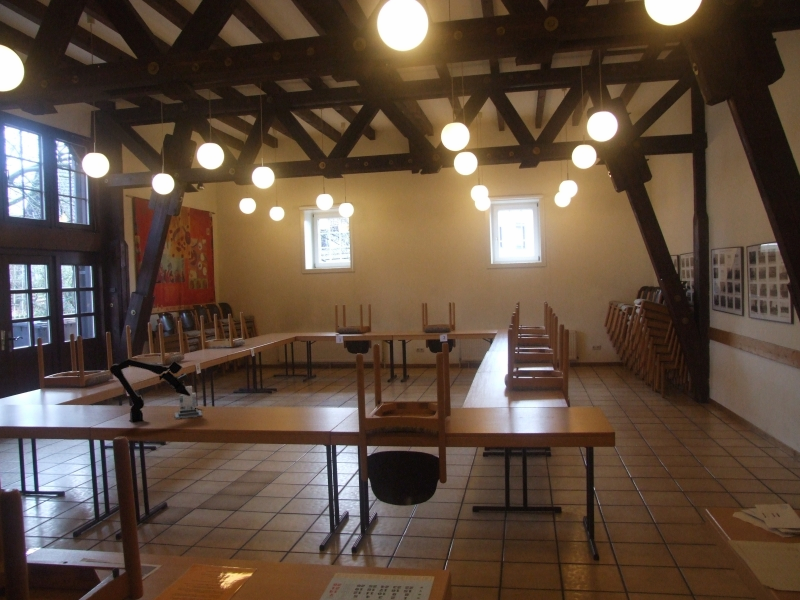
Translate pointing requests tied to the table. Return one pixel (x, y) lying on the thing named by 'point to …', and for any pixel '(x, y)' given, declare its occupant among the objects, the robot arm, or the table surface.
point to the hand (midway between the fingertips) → (189, 394)
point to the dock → (188, 413)
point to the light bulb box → (188, 406)
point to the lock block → (188, 397)
